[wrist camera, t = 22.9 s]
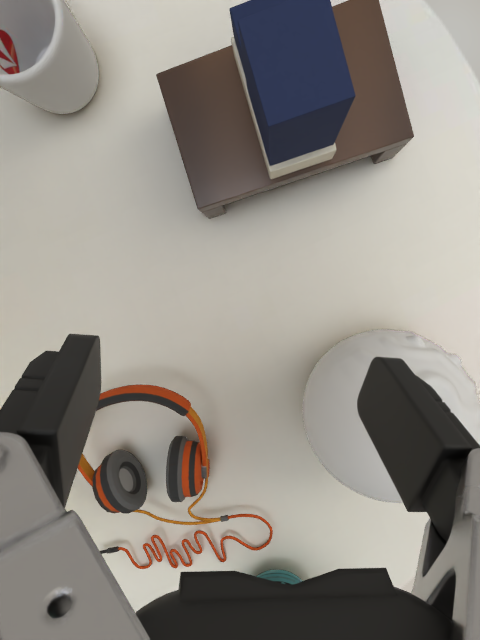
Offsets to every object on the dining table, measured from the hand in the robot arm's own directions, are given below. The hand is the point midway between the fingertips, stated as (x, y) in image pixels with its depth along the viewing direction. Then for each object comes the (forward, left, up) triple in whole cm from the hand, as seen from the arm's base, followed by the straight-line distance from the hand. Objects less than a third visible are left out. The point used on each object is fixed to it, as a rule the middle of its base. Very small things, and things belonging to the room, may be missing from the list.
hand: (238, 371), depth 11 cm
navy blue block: (-8, +12, -18) cm, 23 cm away
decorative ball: (+12, 0, -23) cm, 26 cm away
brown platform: (-8, +13, -23) cm, 27 cm away
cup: (-26, +6, -23) cm, 36 cm away
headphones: (+3, -18, -23) cm, 29 cm away
